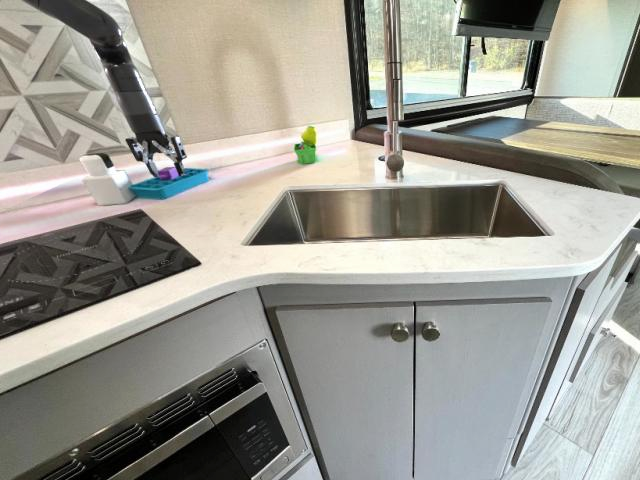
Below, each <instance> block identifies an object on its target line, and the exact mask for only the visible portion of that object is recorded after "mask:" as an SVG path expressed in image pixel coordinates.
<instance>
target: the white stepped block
mask: <svg viewBox="0 0 640 480" xmlns="http://www.w3.org/2000/svg"><path fill="white" fill-rule="evenodd" d="M78 160H79V162H80V163H81V165H82V167H83V168H84V170H85V171H86V173H87V174H88V175H87V176H85V177H83V178H82V179H81V180H82V181H81V182H82V183H83V184H84V185H85V187H86V189H87V190H88V192H89V193H90V195H91V197H92V198H93V200H94V201H95V203H96V205H97V206H99V207H101V206H103V207H104V206H112V205H113V206H114V205H125V204H128V203H130V202H131V201H132V200H133V199H135V198H137V196H136V194H135V193H134V191H133V190H132V189H128V188H129V187H130V186H132V185H133V184H134V183H133V182H132V181H131V178H130V176H129V175H128V173H127V171H126V170H125V169H116V166H115V165H114V163H113V161H112V159H111V157H110V156H109V155H108V154H107V153H103V152H93V153H88V154H84V155H81V156H80V157H79V159H78Z"/></svg>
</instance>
